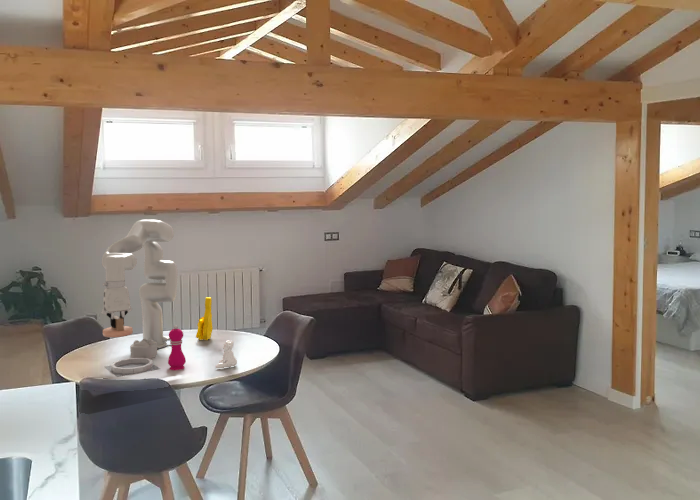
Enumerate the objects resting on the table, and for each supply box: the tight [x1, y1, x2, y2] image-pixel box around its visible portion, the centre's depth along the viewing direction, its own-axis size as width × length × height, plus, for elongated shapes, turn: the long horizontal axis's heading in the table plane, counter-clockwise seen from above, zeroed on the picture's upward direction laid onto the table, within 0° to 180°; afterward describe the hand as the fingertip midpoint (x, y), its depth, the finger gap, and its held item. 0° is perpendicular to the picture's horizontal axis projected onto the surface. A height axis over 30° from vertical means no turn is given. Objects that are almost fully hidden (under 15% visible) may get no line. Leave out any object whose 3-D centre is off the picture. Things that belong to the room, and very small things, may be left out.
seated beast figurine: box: [215, 339, 238, 369], centre depth 272 cm, size 10×9×12 cm
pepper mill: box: [167, 324, 187, 371], centre depth 265 cm, size 7×7×20 cm
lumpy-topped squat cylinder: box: [130, 338, 158, 360], centre depth 285 cm, size 10×13×9 cm
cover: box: [102, 315, 134, 338], centre depth 266 cm, size 12×12×7 cm
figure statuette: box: [195, 296, 214, 341], centre depth 319 cm, size 18×8×22 cm, turn 176°
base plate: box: [104, 357, 161, 378], centre depth 266 cm, size 18×18×4 cm
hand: (117, 326), depth 266 cm, fingers closed on cover, 2 cm apart
